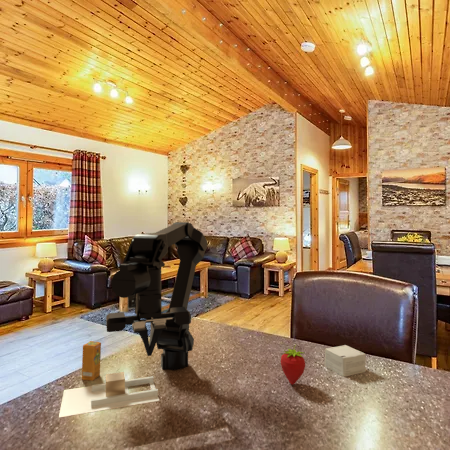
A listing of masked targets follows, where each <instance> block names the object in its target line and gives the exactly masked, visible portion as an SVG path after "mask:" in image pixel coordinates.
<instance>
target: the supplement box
mask: <svg viewBox="0 0 450 450" xmlns="http://www.w3.org/2000/svg"><path fill="white" fill-rule="evenodd" d="M101 350H102V342H100V341H94V340H93V341H92V340H89V341H88V342H87V343H84V344H83V346H82V359H81V360H82V362H81V363H82V364H81V381H82V380H83V381H95V380H96V379H98V377H100V375H101V359H102V358H101V356H102V355H101V352H102V351H101Z"/></svg>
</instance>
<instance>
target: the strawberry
mask: <svg viewBox="0 0 450 450" xmlns="http://www.w3.org/2000/svg"><path fill="white" fill-rule="evenodd" d="M296 345H297V344H295V346H294V347H293V349H291V348H287V350H284V351H283V352H284V353H283V354H282V355H281V357H280V365H281V369H282V371H283V374H284V376H285V378H286V379H287V381H288V382H289V384H290V385H292V386H293V385H295V384H296V383H297V381H298V380H300V378H301V376H302V375H304V372H305V369H306V361H305V358H304V357H303V355H302V354H304V352H303V351H297V350H296V349H295V347H296Z"/></svg>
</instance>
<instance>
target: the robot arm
mask: <svg viewBox="0 0 450 450" xmlns="http://www.w3.org/2000/svg"><path fill="white" fill-rule="evenodd" d="M173 245H174V246H175V247H176V253H177V255H178V258H179V264H178V268H177V272H176V276H175V280H174V281H175V282H174V285H173V290H172V294H171V298H170V302H169V305H168V309H167V311H166V312H162V309H163V307H162V268H163V267H165V265H166V263H165V262H164V261H163V258H164V257H165V256H166V255H167V254H168V253H169V248H170V247H172V246H173ZM207 248H208V240H207V238H206V236H205V234H204V233H203V232H201V231H200V230H199V229H197V228H195V227H194V226H193V224H192V223H191V222H189V221H185V222H183V221H177V222H176V221H175V222H173V223H172V224H171V225H169V226H167V227H165V228H163V229H160V230H158V231H156V232H150V233H149V232H148V233H147V232H146V233H137V234H134V236H133V237H132V240H131V242H130V244H129V247H128V249H127V252H126V255H125V257H124V259H123V261H122V263H121V264H119V270H118V271H116V272H115V273H114V275H113V276H112V279H111V289H112V292H113V293H114V294H115V295H116V296H118V297H119V298H122V299H125V298H127V310H130V309H131V310H132V309H134V314H135V315H127V316H126V315H125V312H124V311H119V312H110V313H109V312H108V313H107V314H106V317H105V318H106V320H105V321H106V322H105V323H106V324H105V325H106V332H108V333H114V332H115V333H116V332H122V331H123V330H125V328H126V326H127V325H128V326H129V325H131V327H132V330H133V333H135V334H138V335H139V337H140V339H141V340H142V342H143V346H144V349H145V352H146V356H147V357H151V356H152V355H153V352H154V350H155V347H156V346H157V347H156V348H157V350H162V353H161V354H160V367H161V370H165V371H167V370H169V371H179V370H183V369H185V368H188V367H189V352H191V351H193V348H194V344H195V343H194V342H195V339H194V337H193V335H192V333H191V332H190V324H192V314H191V312H190V311H189V310H188V305H189V301H190V297H191V291H192V286H193V283H194V282H193V281H194V277H195V273H196V267H197V265H199V263H200V262H202V260H203V259H204V257H205V252H206V251H207ZM147 323H149V324H150V330H148V327H147V326H146V325H147ZM148 331H150V333H149V332H148Z"/></svg>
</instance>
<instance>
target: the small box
mask: <svg viewBox="0 0 450 450" xmlns="http://www.w3.org/2000/svg"><path fill="white" fill-rule="evenodd" d="M366 359H367V355H366V353H364V352H362V351H360V350H358V349H355V348H353V347H351V346H349V345H346V344H344V345H339V346H333V347H327V348H324V366H325V367H326V368H328V369H329V370H331V371H333V372H334V373H336V374H338V375H340V376H342V377H349V376H353V375H358V374H362V373H366V372H367V371H366V369H367V366H366V363H367V362H366Z"/></svg>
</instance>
